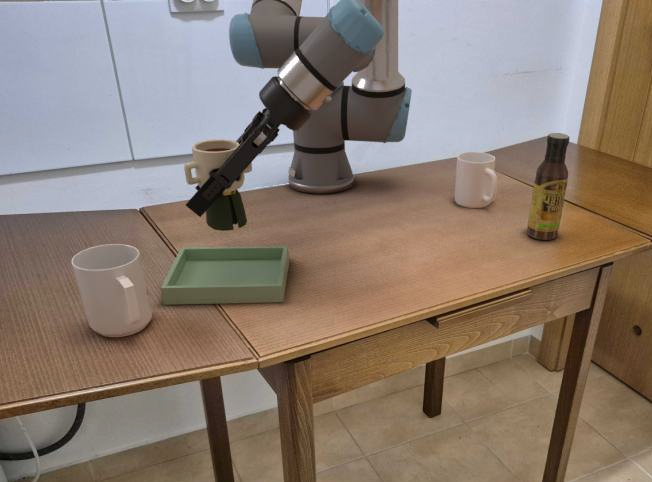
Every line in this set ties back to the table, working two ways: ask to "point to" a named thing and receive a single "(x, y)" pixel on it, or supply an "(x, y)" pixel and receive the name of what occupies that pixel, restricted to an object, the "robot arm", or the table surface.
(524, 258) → the table surface
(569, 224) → the table surface
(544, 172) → the sauce bottle
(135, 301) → the mug
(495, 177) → the cup
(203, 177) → the character mug
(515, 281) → the table surface
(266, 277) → the tray
